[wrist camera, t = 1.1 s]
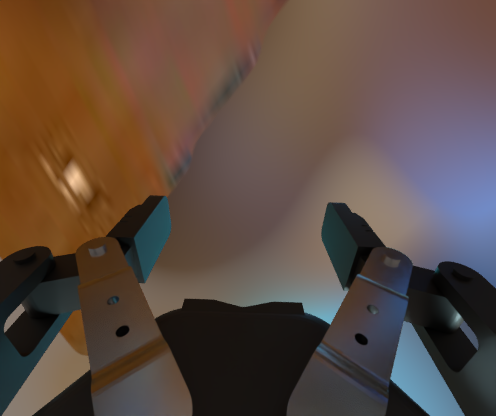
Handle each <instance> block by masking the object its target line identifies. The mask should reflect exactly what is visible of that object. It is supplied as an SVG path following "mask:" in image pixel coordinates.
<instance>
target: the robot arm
mask: <svg viewBox="0 0 496 416" xmlns="http://www.w3.org/2000/svg"><path fill="white" fill-rule="evenodd" d="M170 232H171V219H170V212H169V205H168V199H167V197H166V196H153V195H150V196H149V197H148V198H147V199H146V200H145V202H144V203H143V204H142V205H137V206H135V207H134V208H132V209H130V210H129V211H128V212H127V213H126V214H125V216H124V217H123V218H122V219H121V220H120V222H118V223H117V224H116V226H115V227H114V228H113V229H112V230H111V231H110V232H109V233H108V234H107V235H106V237H100V238H95V239H92V240H90V241H87V242H85V243H84V244H82V245H81V246H80V247H79V248H78V249H77V250H76V253H74V254H68V255H62V256H56V257H53V255H52V253H51V251H50V249H49V248H47V247H44V246H35V247H30V248H26V249H22V250H20V251H17V252H15V253H13V254H11V255H9V256H8V257H6V258H5V259H3V260H2V261H1V262H0V416H2V414H3V412H4V411H5V410H6V408H7V407H8V405H9V404H10V402H11V401H12V399H13V398H14V396H15V395H16V394H17V392H18V391H19V389H20V388H21V386H22V385H23V383H24V382H25V380H26V379H27V378H28V376H29V375H30V373H31V372H32V370H33V369H34V367H35V366H36V364H37V363H38V361H39V360H40V359H41V357H42V356H43V354H44V353H45V351H46V350H47V348H48V347H49V345H50V344H51V342H52V341H53V340H54V338H55V337H56V335H57V334H58V332H59V331H60V329H61V328H62V326H63V325H64V323H65V322H66V321H67V319H68V318H69V316H70V315H71V313H72V312H73V311H75V310H80V309H81V313H82V319H83V325H84V331H85V338H86V344H87V350H88V356H89V363H90V370H89V371H88V372H86V373H85V374H84V375H83V376H82V377H80V378H79V379H78V380H77V381H75V382H74V383H73V384H71V385H70V386H69V387H68V388H66V389H65V390H64V391H63V392H61V393H60V394H59V395H58V396H56V397H55V398H54V399H53V400H51V401H50V402H49V403H47V404H46V405H45V406H44V407H42V408H41V409H40V410H39V411H37V412H36V413H35V414H34V415H32V416H430V415H429V414H427V413H426V412H425V411H424V410H423V409H422V408H421V407H420V406H419V405H418V404H417V403H416V402H414V401H413V400H412V399H411V398H410V397H409V396H408V395H407V394H406V393H405V392H403V391H402V390H401V389H400V388H399V387H398V386H397V385H396V384H395V383H394V382H393V381H392V380H391V379H390V377H391V373H392V368H393V364H394V360H395V355H396V351H397V347H398V343H399V338H400V334H401V329H402V326H403V321H406V322H410V323H412V325H413V327H414V329H415V330H416V332H417V334H418V336H419V337H420V339H421V340H422V342H423V344H424V346H425V348H426V349H427V351H428V352H429V355H430V356H431V358H432V360H433V361H434V363H435V365H436V367H437V368H438V370H439V372H440V374H441V375H442V377H443V378H444V380H445V382H446V384H447V385H448V387H449V389H450V391H451V392H452V394H453V396H454V398H455V399H456V401H457V403H458V405H459V406H460V408H461V409H462V411H463V413H464V415H465V416H496V288H495V287H493V286H492V285H491V284H490V283H489V282H488V281H487V280H486V279H485V278H484V277H483V276H482V275H480V274H479V273H478V272H476V271H475V270H473V269H471V268H469V267H467V266H464V265H462V264H459V263H455V262H441V263H439V265H438V266H437V268H436V270H435V271H433V270H429V269H425V268H420V267H416V266H413V263H412V261H411V260H410V259H409V258H408V257H407V256H406V255H405V254H403V253H402V252H400V251H398V250H395V249H392V248H388V247H386V246H385V245H384V244H383V243H382V241H381V240H380V239H379V238H378V236H377V235H376V234H375V232H373V230H372V228H371V227H370V226H369V225H368V223H367V222H366V221H365V220H364V219H363V218H362V217H360V216H359V215H357V214H356V213H352V212H351V210H350V209H349V208H348V206H347V205H346V204H345V203H331V202H330V203H328V205H327V208H326V213H325V217H324V221H323V226H322V233H321V234H322V235H321V236H322V241H323V243H324V246H325V248H326V250H327V253H328V255H329V257H330V260H331V262H332V264H333V267H334V269H335V271H336V273H337V276H338V278H339V281H340V283H341V285H342V288H343V290H344V291H348V293H347V295H346V296H345V298H344V300H343V302H342V304H341V306H340V308H339V310H338V312H337V313H336V315H335V317H334V319H333V321H332V323H331V325H330V324H328V323H327V322H325V321H323V320H322V319H320V318H318V317H316V316H313V315H310V314H308V313H304V309H303V305H302V303H294V302H269V303H264V304H259V305H254V306H248V307H239V306H236V305H232V304H227V303H224V302H220V301H217V300H208V299H185V300H184V303H183V306H182V308H181V309H177V310H173V311H170V312H168V313H165V314H163V315H161V316H159V317H157V318H156V319H154V316H153V314H152V312H151V310H150V307H149V305H148V303H147V301H146V298H145V296H144V294H143V292H142V289H141V287H140V285H139V283H145V282H146V280H147V278H148V276H149V274H150V272H151V270H152V268H153V266H154V264H155V262H156V260H157V259H158V257H159V254H160V253H161V251H162V249H163V247H164V245H165V243H166V241H167V239H168V237H169V235H170ZM20 304H22V305H23V307H24V309H25V311H24V312H23V313H22V314H21V315H20V316H19V318H18V319H17V320H16V321H15V322H14V323H13V324H12V325H11V327H10V328H9V329H8V330H7V331H6V332H5V333H4V324H5V322H6V320H7V318H8V317H9V316H10V314H11V313H12V312H13V311H14V310H15V309H16V308H17V307H18V306H19V305H20ZM463 321H465V322H466V323H467V324H468V326H469V327H470V328H471V329H472V331H473V332H474V333H475V335H476V337H477V339H478V344H479V347H478V351H477V349H476V348H475V347H474V346H473V344H472V343H471V342H470V340H469V339H468V338H467V336H466V335H465V334H464V332H463V331H462V330H461V328H460V325H461V324H462V322H463Z"/></svg>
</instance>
